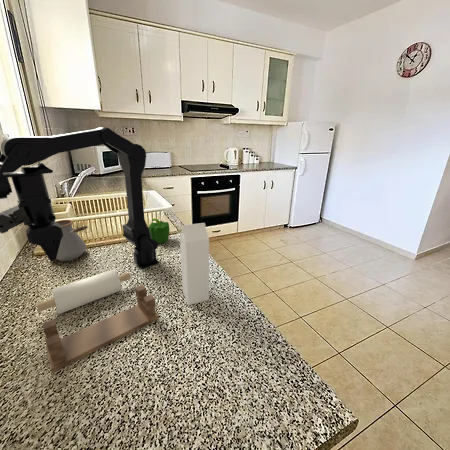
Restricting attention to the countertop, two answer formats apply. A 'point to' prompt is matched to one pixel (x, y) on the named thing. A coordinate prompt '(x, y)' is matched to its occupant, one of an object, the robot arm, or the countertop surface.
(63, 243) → the coffee pot
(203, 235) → the milk
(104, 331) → the bracket
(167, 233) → the bell pepper
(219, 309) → the countertop surface
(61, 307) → the kitchen roll
